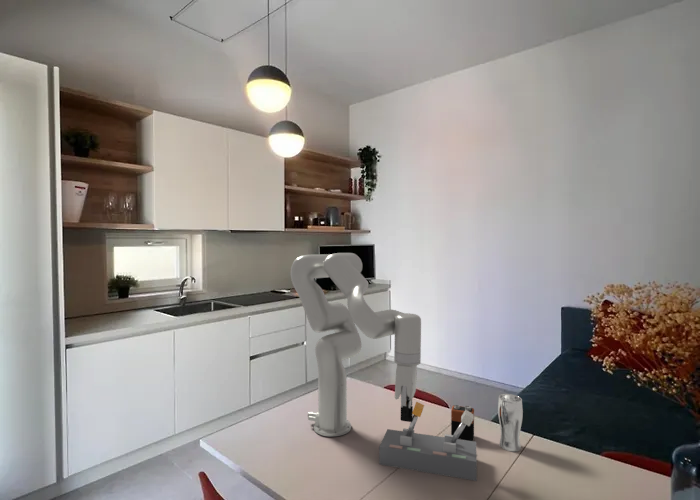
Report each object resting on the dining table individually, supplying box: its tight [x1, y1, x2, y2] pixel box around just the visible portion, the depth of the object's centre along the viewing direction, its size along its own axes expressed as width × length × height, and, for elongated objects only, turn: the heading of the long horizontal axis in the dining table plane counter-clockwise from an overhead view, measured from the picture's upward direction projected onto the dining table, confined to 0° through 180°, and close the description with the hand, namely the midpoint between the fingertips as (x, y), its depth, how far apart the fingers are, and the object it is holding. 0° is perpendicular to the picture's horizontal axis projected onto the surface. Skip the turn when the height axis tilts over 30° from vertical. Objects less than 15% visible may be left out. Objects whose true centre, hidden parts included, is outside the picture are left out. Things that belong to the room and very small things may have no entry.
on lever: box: [449, 410, 475, 443], centre depth 108 cm, size 2×3×11 cm
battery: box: [450, 404, 475, 441], centre depth 125 cm, size 4×7×10 cm, turn 69°
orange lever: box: [406, 401, 425, 437], centre depth 112 cm, size 2×3×11 cm
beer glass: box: [497, 393, 524, 453], centre depth 119 cm, size 7×7×15 cm
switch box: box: [378, 428, 478, 482], centre depth 111 cm, size 26×11×7 cm, turn 73°
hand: (406, 420), depth 113 cm, fingers closed
